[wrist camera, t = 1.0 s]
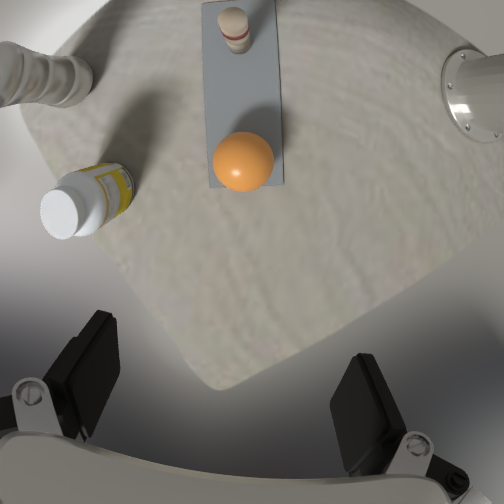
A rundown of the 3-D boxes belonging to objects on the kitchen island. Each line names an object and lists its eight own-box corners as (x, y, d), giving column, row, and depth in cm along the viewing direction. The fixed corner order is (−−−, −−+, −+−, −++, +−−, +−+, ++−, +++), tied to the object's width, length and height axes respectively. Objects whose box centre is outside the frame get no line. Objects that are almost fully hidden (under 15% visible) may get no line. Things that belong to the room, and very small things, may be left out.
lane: (274, -1, 24) (274, -2, 24) (283, 185, 33) (283, 185, 32) (201, 4, 25) (201, 3, 24) (210, 187, 33) (209, 188, 33)
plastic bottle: (70, 54, 26) (-49, 32, 8) (108, 67, 27) (-16, 36, 9) (51, 100, 29) (-72, 106, 10) (86, 115, 30) (-44, 125, 11)
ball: (272, 130, 30) (274, 130, 25) (273, 185, 33) (276, 196, 27) (215, 133, 31) (205, 133, 25) (218, 187, 33) (210, 199, 27)
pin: (250, 34, 26) (247, 5, 18) (251, 54, 27) (248, 30, 19) (227, 36, 26) (216, 7, 18) (228, 56, 27) (217, 32, 19)
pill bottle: (82, 187, 33) (23, 213, 22) (112, 150, 31) (53, 162, 21) (114, 224, 35) (63, 262, 24) (147, 188, 33) (99, 216, 22)
